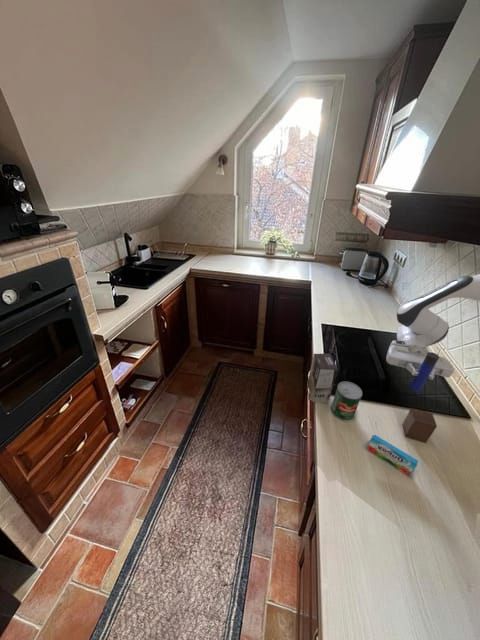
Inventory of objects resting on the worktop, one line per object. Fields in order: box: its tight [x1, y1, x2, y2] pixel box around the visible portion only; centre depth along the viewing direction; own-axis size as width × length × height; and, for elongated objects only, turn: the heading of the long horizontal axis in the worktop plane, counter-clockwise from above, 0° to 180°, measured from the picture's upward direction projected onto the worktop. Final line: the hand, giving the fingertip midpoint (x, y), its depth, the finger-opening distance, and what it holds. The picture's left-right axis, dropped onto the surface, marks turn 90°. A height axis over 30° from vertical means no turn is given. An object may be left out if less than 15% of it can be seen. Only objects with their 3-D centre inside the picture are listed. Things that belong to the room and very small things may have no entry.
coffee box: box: [306, 353, 339, 404], centre depth 93 cm, size 9×6×16 cm
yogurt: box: [365, 433, 419, 477], centre depth 74 cm, size 12×2×6 cm, turn 48°
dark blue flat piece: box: [409, 351, 440, 393], centre depth 85 cm, size 13×3×13 cm
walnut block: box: [401, 407, 438, 444], centre depth 81 cm, size 5×6×8 cm
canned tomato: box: [330, 380, 363, 422], centre depth 88 cm, size 8×8×11 cm
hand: (423, 376), depth 85 cm, fingers closed on dark blue flat piece, 3 cm apart
